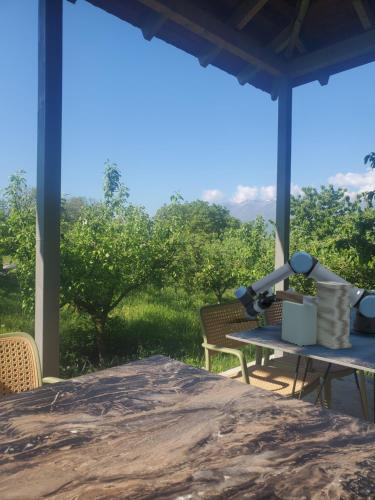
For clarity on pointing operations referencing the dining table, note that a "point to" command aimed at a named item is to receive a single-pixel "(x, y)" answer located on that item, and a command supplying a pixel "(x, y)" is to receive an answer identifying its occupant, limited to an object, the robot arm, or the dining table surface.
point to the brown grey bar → (297, 298)
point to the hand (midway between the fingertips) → (283, 289)
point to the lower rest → (299, 323)
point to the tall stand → (333, 314)
